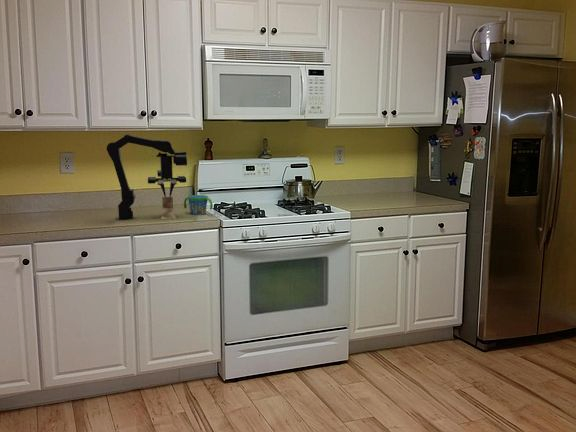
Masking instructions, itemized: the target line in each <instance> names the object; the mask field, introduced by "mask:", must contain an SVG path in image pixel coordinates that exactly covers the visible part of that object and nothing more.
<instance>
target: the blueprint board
mask: <svg viewBox="0 0 576 432" xmlns="http://www.w3.org/2000/svg"><path fill="white" fill-rule="evenodd" d="M160 217H161V220H166V219H170V218H163V215H162V216H160ZM173 219H177V218H176V215H174V218H173Z"/></svg>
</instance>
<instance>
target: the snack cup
mask: <svg viewBox="0 0 576 432" xmlns="http://www.w3.org/2000/svg"><path fill="white" fill-rule="evenodd" d="M187 201H188V205H189V210H190V215H195V216H196V215H197V216H198V215H205V214H206V212H207V205H208V202H209V210H210V211H211V210H213V202H212V199H211V198H210V197H209V196H208V195H205V194H198V195H197V194H194V195H193V194H192V195H188V196H187V197H185V198H184V201H183V208H184V209H187V207H188V206H187Z"/></svg>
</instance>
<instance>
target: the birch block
mask: <svg viewBox="0 0 576 432" xmlns="http://www.w3.org/2000/svg"><path fill="white" fill-rule="evenodd" d="M162 216H163V218H169V219H175V218H174V216H175V214H174V207H173V208H163V207H162Z"/></svg>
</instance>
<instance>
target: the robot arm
mask: <svg viewBox="0 0 576 432" xmlns="http://www.w3.org/2000/svg"><path fill="white" fill-rule="evenodd" d="M127 144H135V145H139V146H142V147H143V146H144V147H149V148H153V149H154V150H157V151H159V152H158V154H156V158H160V159H159V160H160V161H159V162H160V169H157V170H156V171H157V172H156V173H157V177H158V178H157V177H156V176H148V177H147V184H150V185H152V184H156V183H157V186H159V187H160V188H161V190H162V193H163V197H167V196H166V188H165V183H166V182H169V197H172V193H173V190H174V188H175V186H176V185H178V184H177V182H179V183H187V177H186V176H185V175H177V177H174V176H173V164H175V166H179V167H180V166H184V167H185V166H188V158H187V151H182V152H181V151H179V152H178V151H177V152H176V151H175V149H174V148H173V145H172V142H170V141H169V140H165V139H152V138H151V139H150V138H146V137H140V136H137V135H136V136H135V135H132V134H129V133H128V134H127V133H126V134H125V135H124V136H123V137H120V138H119V139H118V140H116V141H112V142H109V143H108V144H107V145H106V152H107V154H108V156H109V157H110V159H111V161H112V163H113V166H114V169H115V172H116V176H117V179H118V182H119V187H120V190H121V191H120V193H121V201H120V203H119V204H117V207H118V211H117V212H118V220H122V221H127V220H132V219H134V210H132V207H131V206H132V205H134V203H135V201H136V197H137V195H136V194H135V189H134V188H132V189H131V187H130V186H129V182H128V178H127V175H126V172H125V169H124V165H123V162H122V161H123V160H122V154H121V153H122V152H121V148H123V147H124V146H125V145H127ZM164 182H165V183H164Z"/></svg>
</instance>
